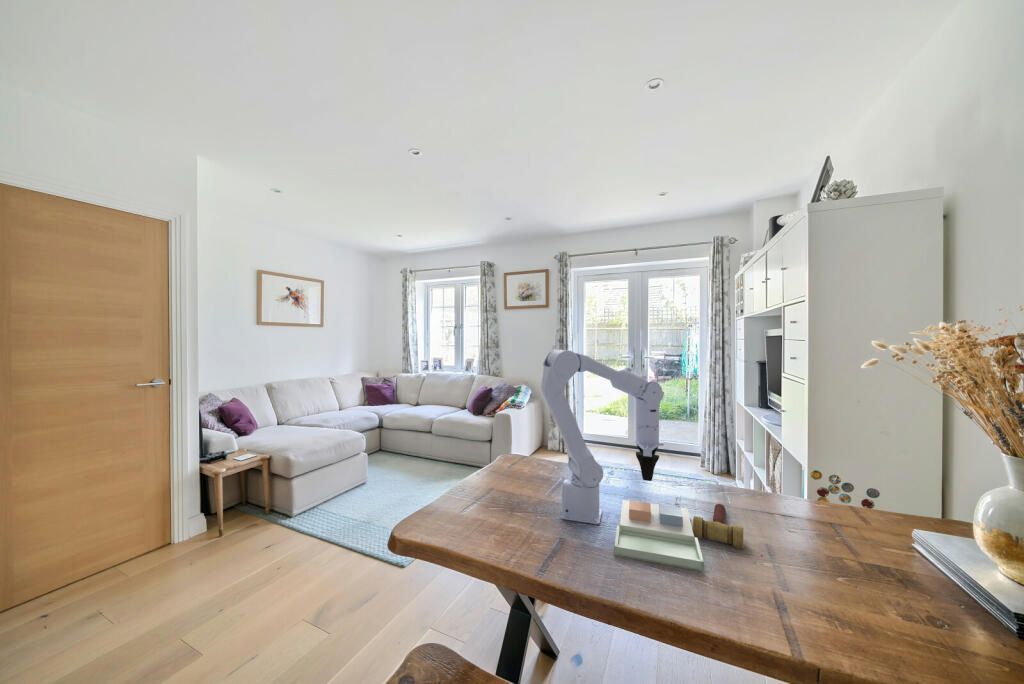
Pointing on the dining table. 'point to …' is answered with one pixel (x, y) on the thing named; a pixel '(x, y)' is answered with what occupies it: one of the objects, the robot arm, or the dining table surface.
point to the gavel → (718, 529)
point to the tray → (659, 550)
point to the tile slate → (670, 515)
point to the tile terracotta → (640, 511)
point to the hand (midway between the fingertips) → (647, 474)
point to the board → (656, 525)
